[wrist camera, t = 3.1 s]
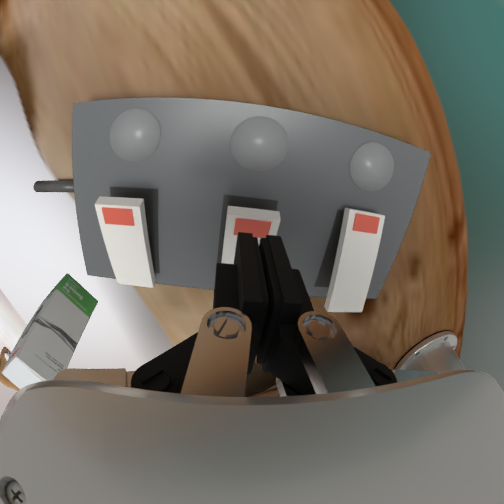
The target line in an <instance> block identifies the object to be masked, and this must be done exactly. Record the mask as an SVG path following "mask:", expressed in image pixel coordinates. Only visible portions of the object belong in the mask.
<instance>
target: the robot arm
mask: <svg viewBox="0 0 504 504" xmlns="http://www.w3.org/2000/svg"><path fill="white" fill-rule="evenodd" d="M456 345H457V337H456V336H455V334H454V333H453V332H451V331H443V332H440V333H437V334H435V335H433V336H431V337H429V338H427V339H425V340H424V341H422V342H421V343H419V344H418V345H417V346H415V347H414V348H413V349H412V350H410V351H409V352H408V353H407V354H406V355H405V356H404V357H403V358H402V359H401V361H400V362H399V363H398V365H397V367H396V369H394V370H393V371H391V370H390V369H389V368H388V367H386V366H385V365H383V364H381V363H380V362H378V361H376V360H375V359H373V358H371V357H370V356H368V355H366V354H365V353H363V352H361V351H359V350H358V349H356V348H354V347H353V346H352V344H351V343H350V341H349V339H348V337H347V336H346V334H345V332H344V331H343V329H342V327H341V326H340V324H339V323H338V322H337V320H336V319H334V318H333V317H332V316H330V315H328V314H326V313H323V312H319V311H314V309H313V307H312V304H311V301H310V298H309V295H308V293H307V290H306V287H305V284H304V281H303V279H302V276H301V273H300V271H299V270H298V269H292V268H291V265H290V262H289V259H288V256H287V253H286V250H285V247H284V244H283V241H282V238H281V236H275V235H266V237H265V238H261V239H260V244H259V243H258V238H257V237H253V234H252V233H244V232H238V235H237V242H236V250H235V257H234V264H226V263H216V274H215V286H214V302H213V309H212V310H210V311H209V312H207V313H206V314H205V315H204V317H203V319H202V321H201V325H200V328H199V331H198V332H197V333H196V334H194V335H193V336H191V337H189V338H188V339H186V340H184V341H183V342H181V343H179V344H178V345H176V346H174V347H173V348H171V349H169V350H168V351H166V352H164V353H163V354H161V355H159V356H158V357H156V358H154V359H152V360H151V361H149V362H147V363H146V364H144V365H142V366H141V367H140V368H138V369H137V370H136V371H130V372H126V370H125V369H64V370H62V371H61V372H59V373H58V374H57V375H56V376H55V377H54V379H53V380H49V381H41V382H37V383H33V384H29V385H26V386H25V387H23V388H21V389H20V390H19V391H18V392H16V393H15V395H14V396H13V397H12V399H11V400H10V401H9V403H8V405H7V406H6V408H5V410H4V413H3V415H2V417H1V419H0V504H504V393H503V391H502V389H501V388H500V387H499V385H498V383H497V382H496V380H495V379H494V378H493V377H492V376H490V375H488V374H486V373H484V372H480V371H475V370H465V368H464V366H463V364H462V363H461V361H460V359H459V358H458V356H457V354H456V353H455V351H454V349H455V347H456ZM256 356H257V362H258V363H262V365H263V372H270V373H271V374H273V375H274V376H276V385H277V388H278V391H279V394H280V397H245V388H246V379H247V375H249V374H250V373H251V371H252V368H253V364H254V361H255V357H256Z"/></svg>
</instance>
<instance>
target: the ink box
mask: <svg viewBox="0 0 504 504" xmlns="http://www.w3.org/2000/svg"><path fill="white" fill-rule="evenodd" d="M97 303H98V301H97V300H96V299H95V298H94V297H93V296H92V295H91V294H89V293H88V292H87V291H86V290H85V289H84V288H83V287H82V286H81V285H80V284H79V283H78V282H77V281H75V280H74V279H73V278H72V277H71V276H70V275H69V274H66V275H65V276H64V277H63V278H62V280H61V281H60V282H59V283H58V284H57V285H56V286H55V288H54V289H53V290H52V291H51V293H50V294H49V295H48V296H47V297H46V299H45V300H44V301H43V302H42V304H41V305H40V307H39V308H38V310H37V311H36V313H35V314H34V316H33V317H32V319H31V320H30V322H29V324H28V325H27V327H26V329H25V330H24V332H23V334H22V335H21V337H20V339H19V341H18V342H17V344H16V346H15V348H14V350H13V351H12V353H11V355H10V357H9V359H8V361H7V363H6V365H5V367H4V369H3V371H2V374H3V375H4V376H5V377H6V378H7V379H9V380H10V381H11V382H12V383H13V384H14V385H16V386H17V387H18V388H19V389H21V388H23V387H25V386H26V385H29V384H33V383H37V382H41V381H49V380H53V379H54V377H55V376H56V375H57V374H58V373H59V372H61V371H62V370H64V369H67V367H68V364H69V362H70V360H71V357H72V355H73V353H74V350H75V348H76V346H77V344H78V342H79V340H80V337H81V335H82V333H83V331H84V329H85V327H86V325H87V323H88V320H89V319H90V316H91V314H92V312H93V310H94V308H95V306H96V305H97Z"/></svg>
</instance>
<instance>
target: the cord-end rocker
mask: <svg viewBox="0 0 504 504" xmlns="http://www.w3.org/2000/svg"><path fill="white" fill-rule="evenodd" d="M95 208H96V212H97V216H98V220H99V224H100V228H101V232H102V235H103V239H104V242H105V246H106V249H107V252H108V256H109V259H110V262H111V265H112V268H113V271H114V274H115V277H116V280H117V283H119V284H126V285H134V286H142V287H150V288H153V287H154V283H155V275H154V269H153V263H152V257H151V251H150V245H149V238H148V231H147V223H146V215H145V206H144V199H141V198H123V197H102V196H100V197H99V198H98V200H97V201H96V203H95Z"/></svg>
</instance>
